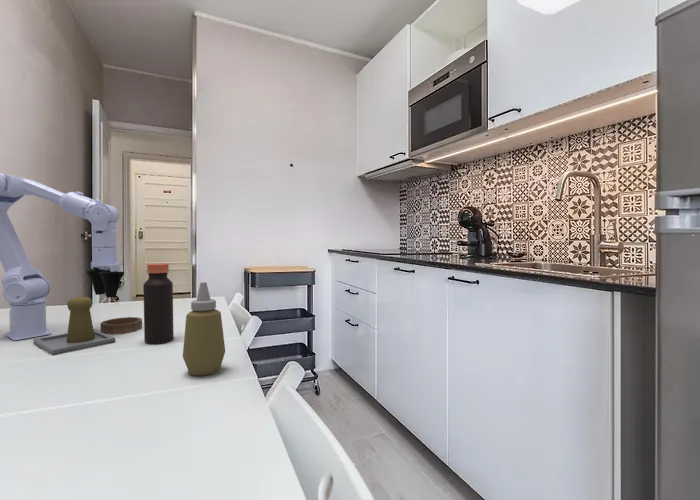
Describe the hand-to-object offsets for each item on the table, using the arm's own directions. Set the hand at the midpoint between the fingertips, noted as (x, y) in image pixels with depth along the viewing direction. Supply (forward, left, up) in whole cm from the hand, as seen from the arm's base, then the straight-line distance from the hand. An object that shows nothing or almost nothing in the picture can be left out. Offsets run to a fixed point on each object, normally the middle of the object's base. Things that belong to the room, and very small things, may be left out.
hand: (105, 295), depth 104 cm
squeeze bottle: (+49, 0, -11) cm, 50 cm away
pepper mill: (+5, -8, -10) cm, 14 cm away
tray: (+5, -9, -10) cm, 15 cm away
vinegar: (+20, +5, -11) cm, 23 cm away
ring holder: (0, +4, -10) cm, 11 cm away
